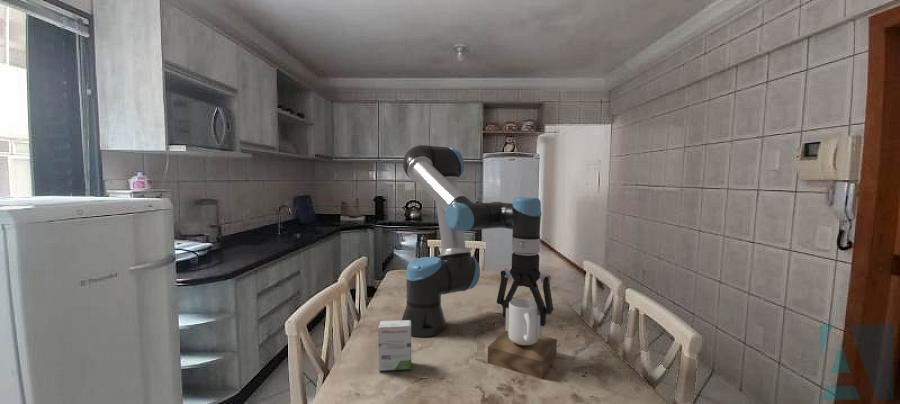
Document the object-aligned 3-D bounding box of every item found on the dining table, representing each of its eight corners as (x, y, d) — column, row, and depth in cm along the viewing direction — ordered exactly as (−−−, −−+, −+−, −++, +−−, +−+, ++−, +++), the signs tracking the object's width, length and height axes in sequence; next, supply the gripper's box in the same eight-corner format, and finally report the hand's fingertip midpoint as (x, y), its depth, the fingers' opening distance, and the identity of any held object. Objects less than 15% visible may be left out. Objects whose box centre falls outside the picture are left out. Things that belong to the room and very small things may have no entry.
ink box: (411, 360, 97) (411, 318, 96) (411, 370, 92) (411, 326, 91) (379, 361, 96) (379, 319, 95) (377, 371, 91) (378, 326, 91)
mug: (545, 353, 91) (546, 313, 90) (513, 352, 91) (514, 313, 90) (534, 333, 103) (535, 298, 102) (506, 332, 103) (507, 298, 102)
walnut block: (487, 364, 96) (487, 346, 96) (507, 343, 109) (507, 327, 109) (541, 380, 89) (542, 361, 89) (556, 356, 102) (556, 339, 101)
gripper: (485, 250, 99) (483, 329, 101) (561, 260, 89) (558, 347, 90) (495, 246, 106) (493, 320, 107) (567, 255, 95) (564, 336, 97)
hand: (523, 332), depth 99 cm, fingers closed on mug, 8 cm apart
